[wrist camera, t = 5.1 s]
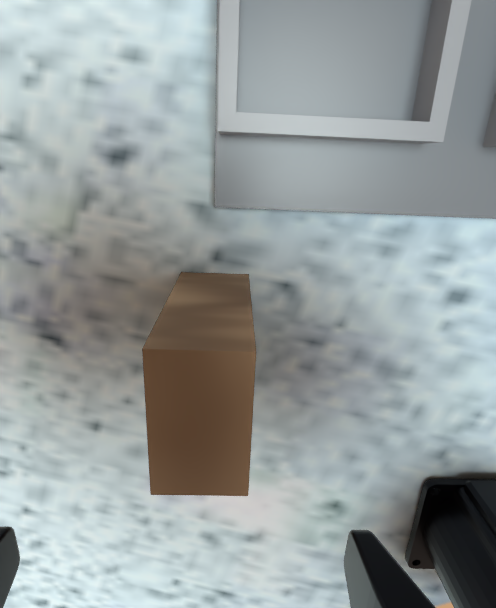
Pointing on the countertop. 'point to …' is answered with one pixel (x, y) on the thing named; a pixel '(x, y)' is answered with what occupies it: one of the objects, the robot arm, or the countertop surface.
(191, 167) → the countertop surface
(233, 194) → the grey socket board
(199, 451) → the billet
